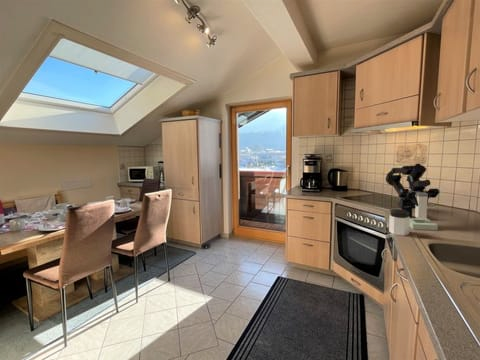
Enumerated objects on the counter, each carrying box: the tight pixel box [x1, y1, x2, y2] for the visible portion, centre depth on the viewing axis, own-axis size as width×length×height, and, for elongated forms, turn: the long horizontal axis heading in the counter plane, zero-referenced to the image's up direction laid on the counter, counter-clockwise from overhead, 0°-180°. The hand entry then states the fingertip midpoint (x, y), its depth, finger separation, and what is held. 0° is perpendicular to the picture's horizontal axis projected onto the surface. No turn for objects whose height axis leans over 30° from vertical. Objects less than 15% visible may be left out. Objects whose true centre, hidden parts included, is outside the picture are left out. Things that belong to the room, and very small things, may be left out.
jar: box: [388, 208, 410, 237], centre depth 128 cm, size 9×8×12 cm
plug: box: [414, 192, 428, 219], centre depth 135 cm, size 4×4×14 cm
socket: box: [409, 217, 439, 231], centre depth 136 cm, size 11×11×3 cm
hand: (422, 205), depth 134 cm, fingers closed on plug, 4 cm apart
